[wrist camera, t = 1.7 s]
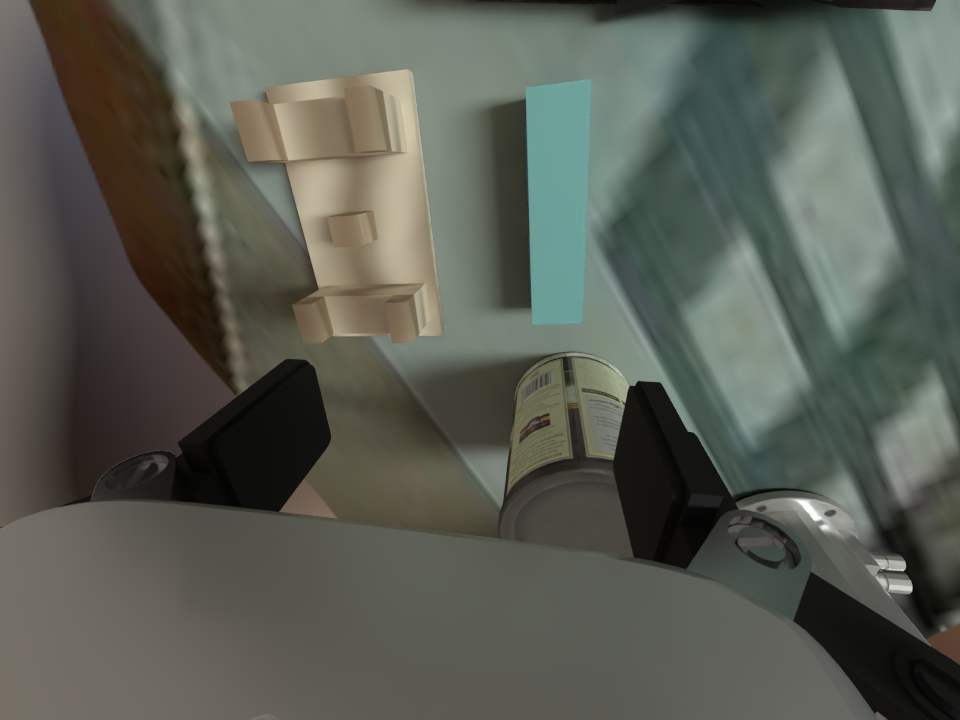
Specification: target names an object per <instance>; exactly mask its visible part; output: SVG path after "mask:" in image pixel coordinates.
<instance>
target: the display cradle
mask: <svg viewBox="0 0 960 720" xmlns="http://www.w3.org/2000/svg"><path fill="white" fill-rule="evenodd" d="M265 91H266V95H267V98H268V102H269V103H266V102H262V101H257V100H245V101H237V102H230V105H231V109H232V112H233V115H234V118H235V122H236V125H237V128H238V131H239V135H240V138H241V141H242V144H243V148H244V151H245V154H246V157H247V161H248V162H276V163H285V165H286V169H287V173H288V176H289V180H290V184H291V188H292V191H293V195H294V199H295V203H296V206H297V210H298V214H299V217H300V221H301V225H302V229H303V232H304V236H305V240H306V244H307V247H308V251H309V255H310V258H311V262H312V266H313V270H314V273H315V277H316V281H317V285H318V288H319V290H318V291H316V292H314V293H312V294H311V295H309V296H307V297H305V298H303V299H301V300H300V301H298V302H296V303H294V304H292V307H293V310H294V314H295V317H296V320H297V323H298V327H299V330H300V333H301V336H302V340H303V343H323V342H324V341H325V340H327V339H328V338H329V337H330V336H391V339H392V343H413V342H414V340H415V339H416V338H417V336H441V335H442V334H443V332H444V326H443V318H442V310H441V301H440V293H439V285H438V276H437V268H436V260H435V252H434V243H433V235H432V227H431V218H430V210H429V202H428V194H427V185H426V177H425V169H424V160H423V152H422V144H421V136H420V127H419V119H418V111H417V102H416V94H415V86H414V78H413V73H412V72H411V71H410V70H408V69H406V70H399V71H391V72H383V73H375V74H367V75H359V76H351V77H343V78H336V79H328V80H320V81H312V82H304V83H296V84H288V85H280V86H273V87H265Z"/></svg>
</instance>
